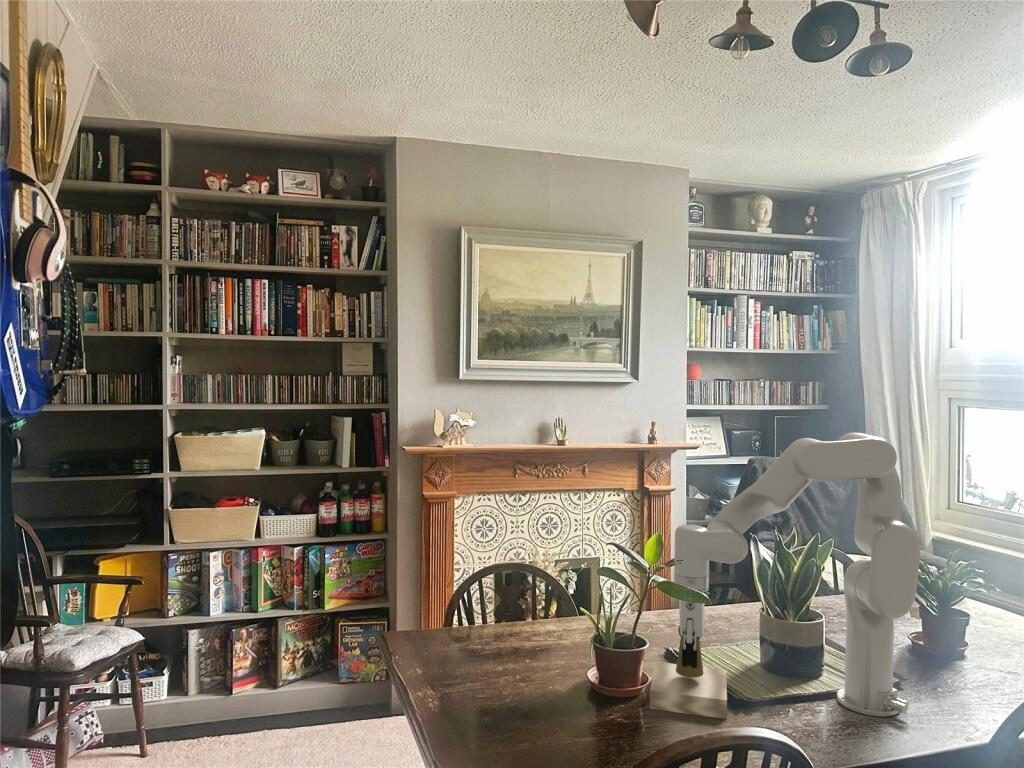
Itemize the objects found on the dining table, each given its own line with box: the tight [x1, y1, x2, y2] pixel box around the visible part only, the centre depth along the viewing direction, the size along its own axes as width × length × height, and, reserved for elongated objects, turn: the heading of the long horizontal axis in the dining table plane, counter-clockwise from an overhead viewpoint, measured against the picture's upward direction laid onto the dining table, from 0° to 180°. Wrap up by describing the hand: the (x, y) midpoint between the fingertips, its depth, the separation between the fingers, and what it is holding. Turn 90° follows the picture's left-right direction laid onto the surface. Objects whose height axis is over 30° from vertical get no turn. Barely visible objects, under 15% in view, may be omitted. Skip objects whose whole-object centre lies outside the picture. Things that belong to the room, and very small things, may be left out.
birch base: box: [649, 661, 728, 720], centre depth 163 cm, size 16×16×4 cm
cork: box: [676, 624, 704, 678], centre depth 163 cm, size 6×6×11 cm
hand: (689, 661), depth 163 cm, fingers closed on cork, 4 cm apart
